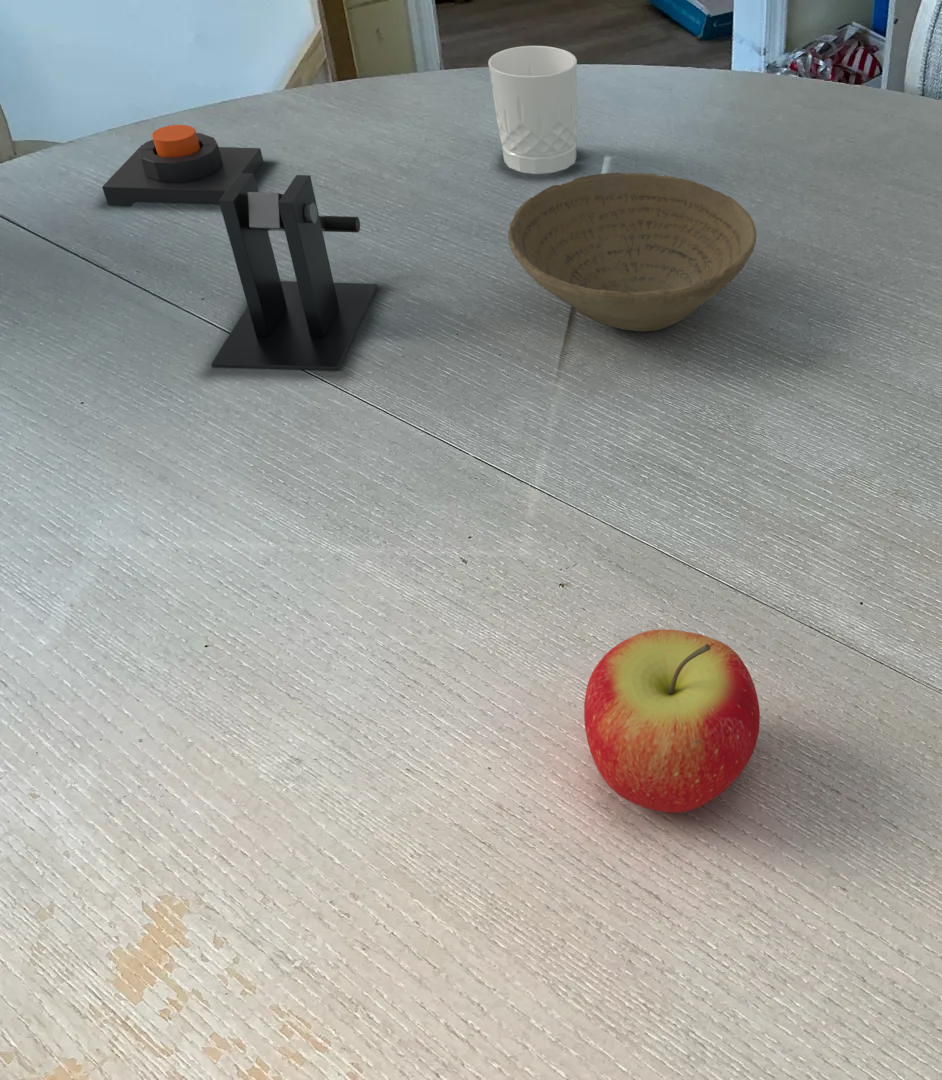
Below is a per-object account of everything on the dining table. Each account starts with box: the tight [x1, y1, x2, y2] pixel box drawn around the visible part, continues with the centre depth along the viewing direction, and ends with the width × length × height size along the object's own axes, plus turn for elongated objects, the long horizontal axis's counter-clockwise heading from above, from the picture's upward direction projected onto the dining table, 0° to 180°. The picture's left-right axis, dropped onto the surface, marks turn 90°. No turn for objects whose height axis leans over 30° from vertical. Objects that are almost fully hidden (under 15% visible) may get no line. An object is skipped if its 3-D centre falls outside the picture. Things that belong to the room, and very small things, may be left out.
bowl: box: [507, 172, 758, 332], centre depth 89 cm, size 18×18×8 cm
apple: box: [583, 629, 761, 813], centre depth 56 cm, size 8×8×10 cm
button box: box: [101, 132, 265, 207], centre depth 106 cm, size 11×9×4 cm
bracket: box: [211, 173, 379, 372], centre depth 85 cm, size 12×9×12 cm
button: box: [151, 124, 200, 157], centre depth 104 cm, size 4×4×2 cm
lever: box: [247, 191, 361, 233], centre depth 87 cm, size 12×6×2 cm
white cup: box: [487, 45, 579, 175], centre depth 109 cm, size 8×8×10 cm
